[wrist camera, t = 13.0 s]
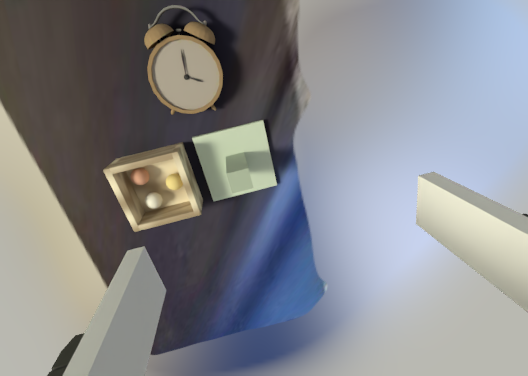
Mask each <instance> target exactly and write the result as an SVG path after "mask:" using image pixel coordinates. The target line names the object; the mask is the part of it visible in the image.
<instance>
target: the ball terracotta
mask: <svg viewBox="0 0 528 376" xmlns="http://www.w3.org/2000/svg"><path fill="white" fill-rule="evenodd" d="M130 177H131V180H132V182H133V183H134V184H136V185H144V184H146V183H147V182H148V180H149V173H148V172H147V171H146V170H145V169H143V168H137V169H135V170H133V171H132V173H131V176H130Z"/></svg>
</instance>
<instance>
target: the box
mask: <svg viewBox="0 0 528 376" xmlns="http://www.w3.org/2000/svg"><path fill="white" fill-rule="evenodd" d="M137 168H143V169H145V170H146V171H147V172H148V173H149V180H148V182H147V183H146V184H144V185H136V184H134V183H133V182H132V180H131V177H130V176H131V173H132V171H133V170H135V169H137ZM103 171H104V173H105V175H106V177H107V179H108V181H109V183H110V185H111V187H112V189H113V191H114V193H115V195H116V197H117V199H118V201H119V203H120V205H121V207H122V209H123V211H124V212H125V214H126V216H127V218H128V220H129V222H130V224H131V226H132V228H133V230H134V232H136V231H140V230H144V229H148V228H152V227H156V226H160V225H163V224H167V223H171V222H175V221H179V220H183V219H186V218H190V217H194V216H198V215H201V210H202V204H203V198H202V196H201V193H200V190H199V187H198V184H197V182H196V179H195V176H194V173H193V170H192V167H191V165H190V162H189V159H188V156H187V153H186V150H185V148H184V145H183V142H182V143H178V144H174V145H170V146H166V147H162V148H158V149H154V150H150V151H146V152H142V153H138V154H134V155H130V156H126V157H122V158H118V159H116V160H115V161H113V162H112V163H111V164H110V165H108V166H107V167H106V168H105V169H104V170H103ZM170 174H179V175H180V177H181V180H182V182H183V185H182V187H181V188H180V189H178V190H171V189H169V188H168V187H167V185H166V179H167V177H168V176H169V175H170ZM152 192H156V193H158V194H160V195H161V197H162V204H161V206H160V207H158V208H155V209H152V208H149V207H148V206H147V205H146V204H145V198H146V196H147V195H148V194H149V193H152Z"/></svg>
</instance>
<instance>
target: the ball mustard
mask: <svg viewBox="0 0 528 376" xmlns="http://www.w3.org/2000/svg"><path fill="white" fill-rule="evenodd" d="M166 185H167V187H168V188H169V189H171V190H178V189H180V188H181V187H182V185H183V182H182V180H181V177H180V175H179V174H170V175H169V176H168V177H167V179H166Z"/></svg>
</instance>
